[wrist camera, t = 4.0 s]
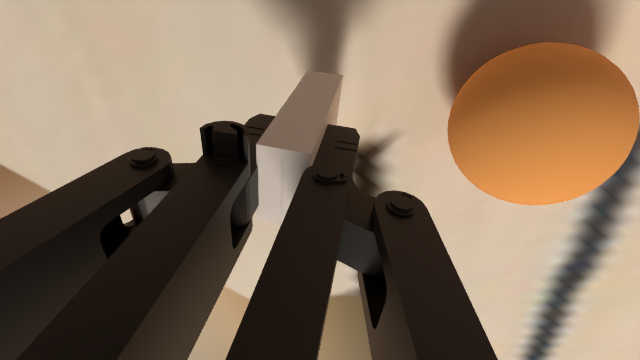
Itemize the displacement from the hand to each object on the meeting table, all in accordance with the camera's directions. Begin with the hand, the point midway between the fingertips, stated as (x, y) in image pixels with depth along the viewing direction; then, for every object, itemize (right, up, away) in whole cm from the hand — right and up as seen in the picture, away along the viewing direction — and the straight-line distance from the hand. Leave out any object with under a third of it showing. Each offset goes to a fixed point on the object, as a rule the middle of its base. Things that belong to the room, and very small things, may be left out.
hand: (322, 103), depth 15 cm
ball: (+8, -1, -2) cm, 8 cm away
